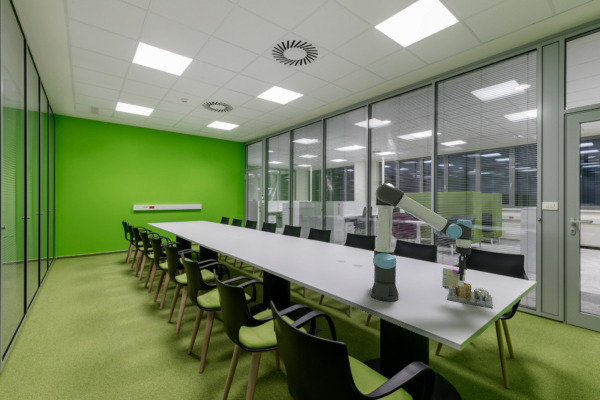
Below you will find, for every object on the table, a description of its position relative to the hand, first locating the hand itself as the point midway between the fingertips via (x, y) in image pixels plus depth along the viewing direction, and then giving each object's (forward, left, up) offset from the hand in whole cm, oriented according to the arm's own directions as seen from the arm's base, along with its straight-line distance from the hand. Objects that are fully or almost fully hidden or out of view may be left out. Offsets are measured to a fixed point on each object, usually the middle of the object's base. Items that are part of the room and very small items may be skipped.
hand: (461, 283), depth 158 cm
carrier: (+4, -1, -8) cm, 9 cm away
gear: (+1, 0, -6) cm, 6 cm away
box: (-6, +17, -8) cm, 20 cm away
